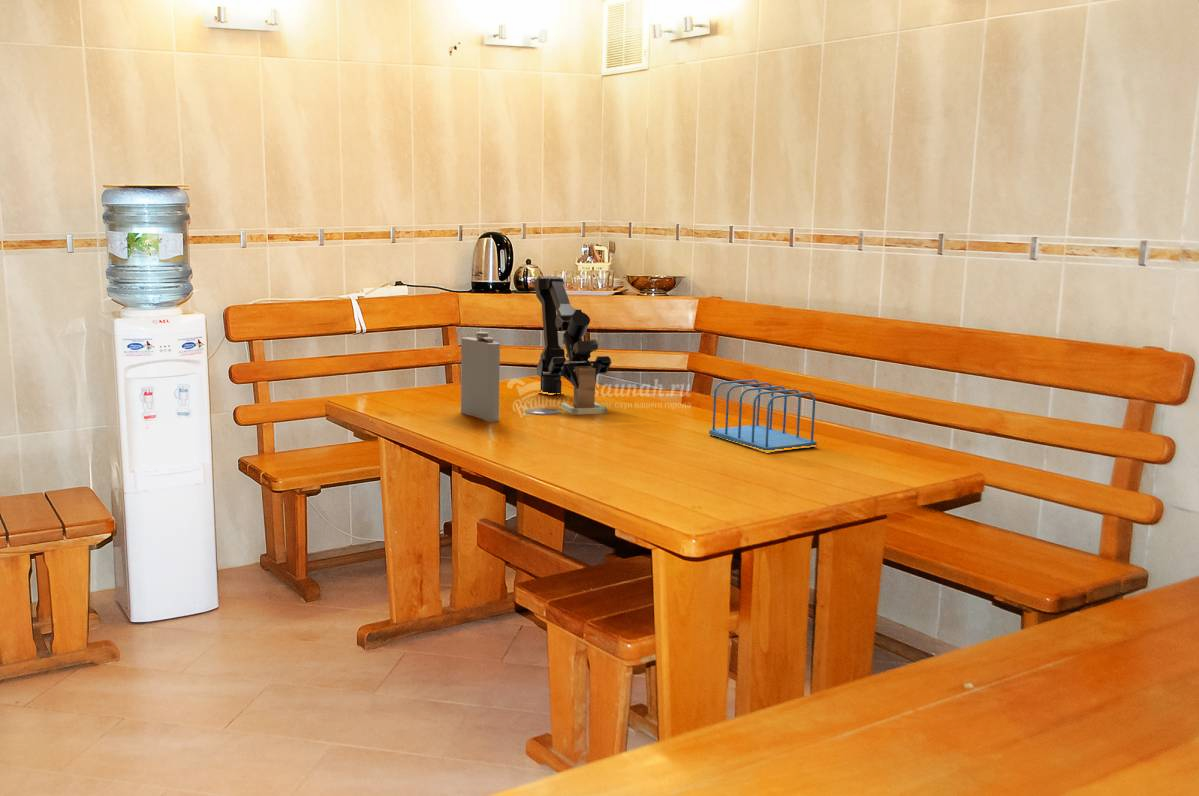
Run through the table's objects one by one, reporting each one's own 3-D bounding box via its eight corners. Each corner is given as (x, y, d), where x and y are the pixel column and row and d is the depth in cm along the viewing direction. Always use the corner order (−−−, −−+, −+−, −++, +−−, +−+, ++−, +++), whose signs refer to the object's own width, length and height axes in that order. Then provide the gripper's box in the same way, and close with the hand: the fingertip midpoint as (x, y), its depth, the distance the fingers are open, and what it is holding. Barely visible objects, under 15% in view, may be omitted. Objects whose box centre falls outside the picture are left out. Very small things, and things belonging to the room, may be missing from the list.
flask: (503, 420, 321) (504, 334, 316) (489, 422, 318) (490, 335, 314) (472, 411, 334) (473, 328, 330) (458, 412, 331) (459, 329, 327)
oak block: (573, 408, 339) (574, 366, 337) (588, 408, 341) (589, 366, 338) (578, 411, 334) (579, 369, 332) (594, 411, 336) (595, 368, 334)
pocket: (560, 409, 341) (561, 403, 340) (594, 408, 344) (594, 402, 344) (572, 416, 330) (572, 409, 330) (607, 414, 334) (607, 408, 334)
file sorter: (708, 436, 307) (710, 381, 305) (757, 431, 316) (760, 378, 314) (765, 454, 286) (769, 395, 284) (816, 448, 295) (820, 391, 293)
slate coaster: (516, 413, 333) (516, 411, 333) (541, 408, 341) (541, 406, 341) (543, 418, 326) (543, 416, 326) (568, 413, 334) (568, 411, 334)
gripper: (552, 330, 334) (563, 372, 325) (610, 330, 340) (622, 371, 332) (543, 353, 342) (554, 394, 334) (600, 352, 349) (611, 392, 341)
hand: (585, 387), depth 335 cm, fingers closed on oak block, 5 cm apart
